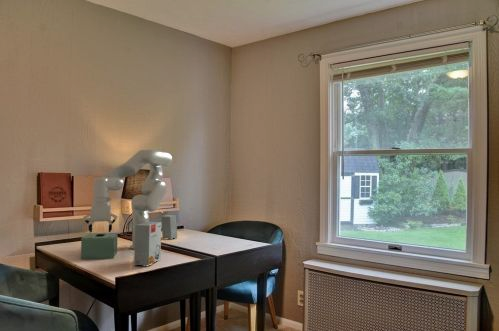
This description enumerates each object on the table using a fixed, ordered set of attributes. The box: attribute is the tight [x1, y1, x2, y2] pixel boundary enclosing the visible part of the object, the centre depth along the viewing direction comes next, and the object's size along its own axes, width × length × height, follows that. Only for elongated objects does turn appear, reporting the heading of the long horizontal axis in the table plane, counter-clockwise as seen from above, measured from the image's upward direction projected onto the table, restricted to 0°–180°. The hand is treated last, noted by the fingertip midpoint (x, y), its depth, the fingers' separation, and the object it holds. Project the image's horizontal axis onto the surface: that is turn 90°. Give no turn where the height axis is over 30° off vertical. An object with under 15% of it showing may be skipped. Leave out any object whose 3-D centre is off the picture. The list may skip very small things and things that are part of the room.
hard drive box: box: [133, 221, 162, 265], centre depth 199 cm, size 16×8×20 cm, turn 170°
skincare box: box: [161, 214, 178, 240], centre depth 270 cm, size 8×7×16 cm
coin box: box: [80, 232, 119, 260], centre depth 214 cm, size 16×16×11 cm
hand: (100, 231), depth 214 cm, fingers open, 9 cm apart
